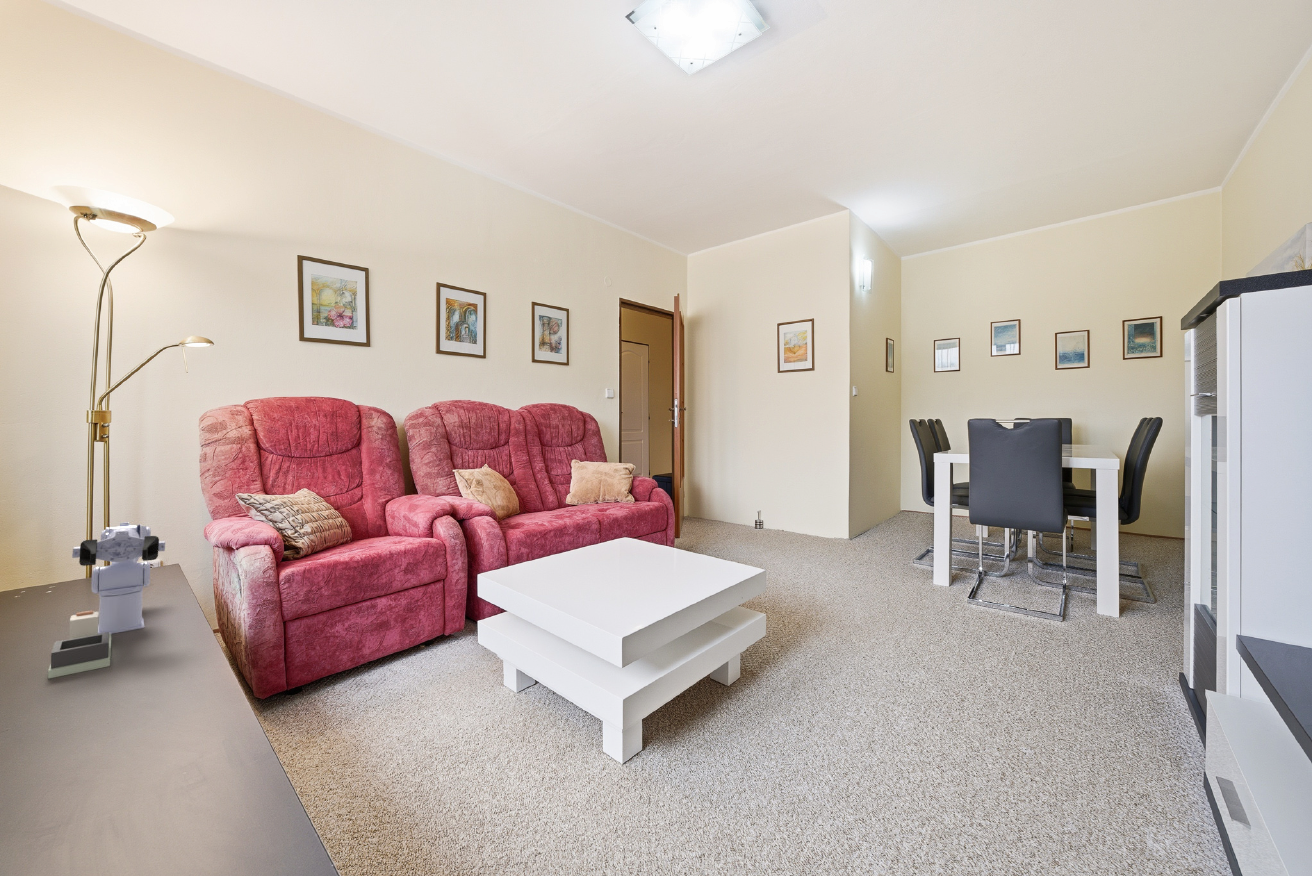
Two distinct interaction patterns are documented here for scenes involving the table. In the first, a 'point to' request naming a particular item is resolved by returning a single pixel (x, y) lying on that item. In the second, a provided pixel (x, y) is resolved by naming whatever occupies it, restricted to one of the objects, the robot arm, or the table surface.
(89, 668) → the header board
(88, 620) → the plug
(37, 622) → the table surface
